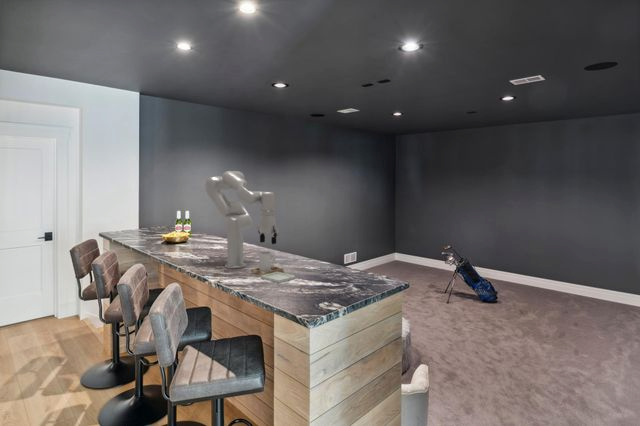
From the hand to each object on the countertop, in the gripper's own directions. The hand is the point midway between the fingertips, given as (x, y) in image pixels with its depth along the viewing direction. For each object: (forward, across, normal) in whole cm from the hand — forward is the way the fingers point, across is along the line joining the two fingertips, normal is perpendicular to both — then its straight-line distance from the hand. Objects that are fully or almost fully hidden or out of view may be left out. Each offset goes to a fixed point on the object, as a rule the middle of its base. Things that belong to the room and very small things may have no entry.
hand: (268, 243), depth 215 cm
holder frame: (+18, -1, 0) cm, 18 cm away
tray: (+18, +13, -5) cm, 23 cm away
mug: (+18, -1, 0) cm, 18 cm away
